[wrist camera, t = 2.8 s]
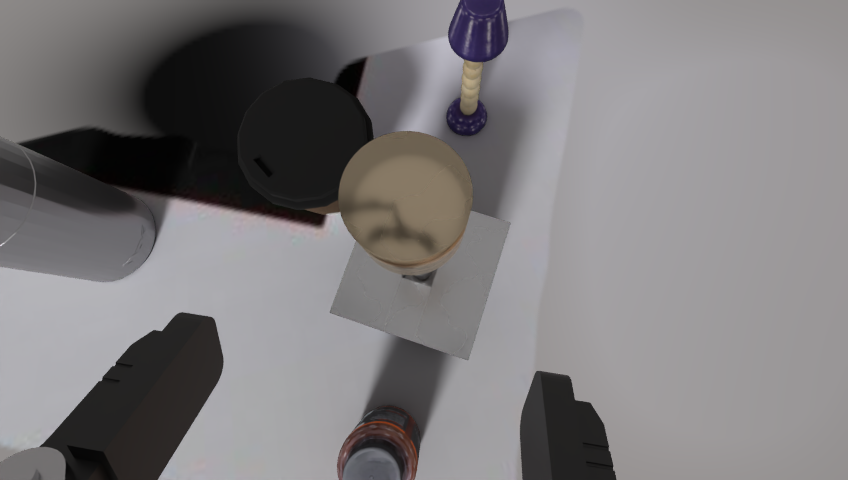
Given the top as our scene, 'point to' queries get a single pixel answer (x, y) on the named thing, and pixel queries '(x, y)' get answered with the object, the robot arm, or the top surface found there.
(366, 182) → the tan rounded stemmed piece
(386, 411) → the supplement bottle
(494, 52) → the toy lamp
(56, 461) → the robot arm
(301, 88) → the coffee cup
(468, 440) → the top surface
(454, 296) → the block with hole
